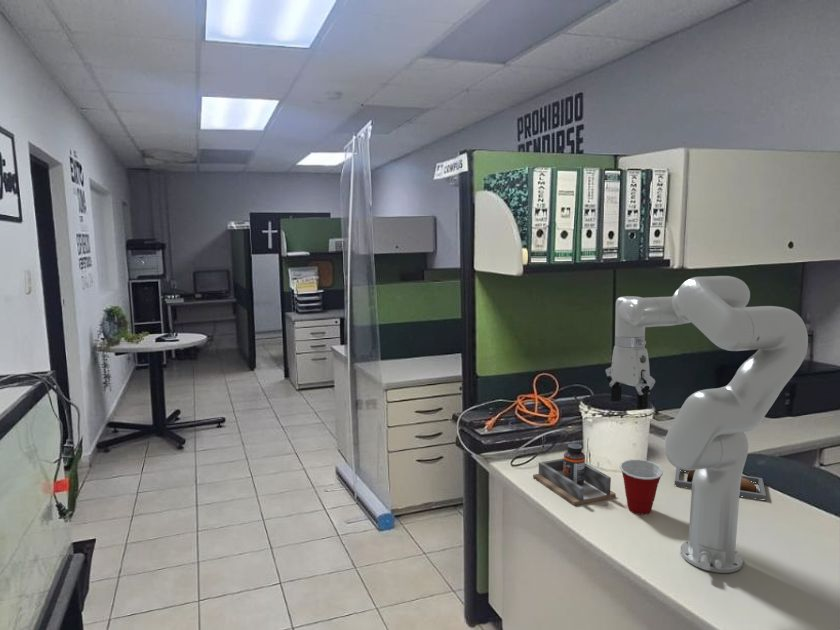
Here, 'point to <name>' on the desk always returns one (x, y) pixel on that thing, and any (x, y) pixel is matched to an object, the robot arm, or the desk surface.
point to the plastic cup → (640, 484)
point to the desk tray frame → (742, 493)
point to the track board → (575, 494)
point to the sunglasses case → (744, 485)
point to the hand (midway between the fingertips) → (628, 404)
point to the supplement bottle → (574, 464)
